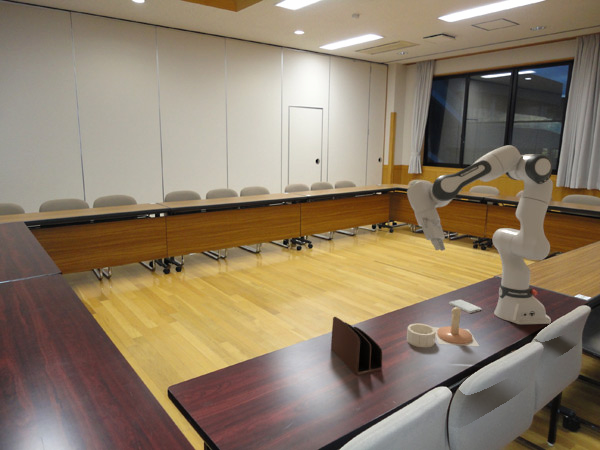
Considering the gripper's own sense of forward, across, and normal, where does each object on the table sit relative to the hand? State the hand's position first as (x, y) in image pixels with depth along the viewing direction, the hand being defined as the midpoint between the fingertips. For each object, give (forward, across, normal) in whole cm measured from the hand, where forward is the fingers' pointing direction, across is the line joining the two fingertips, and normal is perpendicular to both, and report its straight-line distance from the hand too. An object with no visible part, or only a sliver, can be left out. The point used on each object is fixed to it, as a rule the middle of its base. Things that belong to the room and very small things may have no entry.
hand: (440, 250), depth 171 cm
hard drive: (+26, +36, +6) cm, 45 cm away
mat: (+34, +1, +8) cm, 35 cm away
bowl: (+31, -10, +18) cm, 38 cm away
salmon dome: (+34, 0, +8) cm, 35 cm away
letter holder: (+29, -35, +36) cm, 58 cm away
